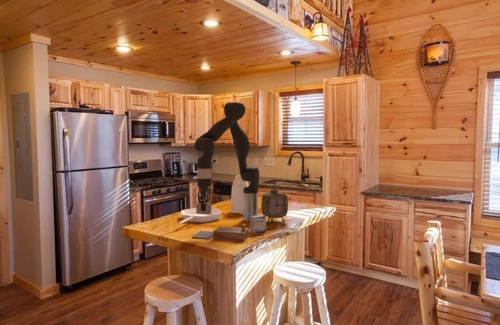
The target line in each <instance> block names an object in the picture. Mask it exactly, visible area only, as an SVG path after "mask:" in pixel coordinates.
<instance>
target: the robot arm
mask: <svg viewBox="0 0 500 325" xmlns="http://www.w3.org/2000/svg"><path fill="white" fill-rule="evenodd" d="M223 114H224V118H222V119H220V120H219V121H217V122H215V123H214V124H213V125H212V126H211V127H210V128H209V129H208V130H207V132H205V133H203V134H202V135H200V136H199V137H198V138H196V140H195V142H194V149H195V151H197V152H198V153H202V156H199V157H198V158H197V172H196V179H197V180H196V186H197V187H198V188H199V192H197V198H198V203H200V204H201V211H205V202H209V203H210V201H211V192H212V189H210V187H212V186H213V185H212V184H213V182H212V181H213V171H212V159H213V155H214V152H215V148H216V147H215V143H216V142H218V141H219V140H220V138H221V137H222V136H223V134H225V132H226V131H228V130H230V134H231V138H232V142H233V146H234V150H235V154H236V157H237V162H238V168H239V175H241V178H242V180H243V181H248V183H249V182H250V183H249V186H248V187H245V188H244V189H243V214H242V217H243V218H242V220H243V221H245V222H250V216H257V215H259V189H260V188H259V187H260V170H259V168H258V167H257V166H249V165H248V164H247V158H248V155H249V153H250V150H251V144H250V140H249V136H248V135H247V133H246V131H245V130H244V129H243V128H242V127H241V125H240V124H239V121H240V120H241V119H243V117H244V116H245V114H246V106H245V104H244V103H243V102H241V101H240V102H239V101H234V102H233V101H230V102H226V103H225V104H224V107H223Z"/></svg>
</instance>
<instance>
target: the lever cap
mask: <svg viewBox="0 0 500 325" xmlns="http://www.w3.org/2000/svg"><path fill="white" fill-rule="evenodd" d="M195 208H196V214H207V215H209V214H211V208H213V207H212V203H210V201H209V202H205V211H201V204H200V203H199V202H198V203H196V205H195Z"/></svg>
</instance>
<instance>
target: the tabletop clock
mask: <svg viewBox="0 0 500 325" xmlns="http://www.w3.org/2000/svg"><path fill="white" fill-rule="evenodd" d="M273 183H277V184H278V186H275V185H273V186H271V184H273ZM279 187H280V182H278V181H274V180H273V181H271V182H270V183H269V188H271V190H269V192H267V193H263V194H262V196H261V205H260V206H261V213H262V214H261V215H264V216H266V218H267V217H268V220H266V224H268V225H269V224H270V223H271V222H273V221H274V219H281V220H282V223H284V222H285V221H286V220H285V219H284V217H286V216H287V214H288V208H289V199H288V195H287V194H286V193H281V192H279V190H278V189H277V188H279ZM270 221H271V222H270Z"/></svg>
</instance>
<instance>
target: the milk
mask: <svg viewBox="0 0 500 325" xmlns="http://www.w3.org/2000/svg"><path fill="white" fill-rule="evenodd" d="M248 186H250V183H249V182H248V181H243V180H242V178H241V175H240V174H235V177H234V180H233V182H232V185H231V194H230V195H231V198H230V213H240V214H239V215H243V189H244V188H245V187H248Z"/></svg>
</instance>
